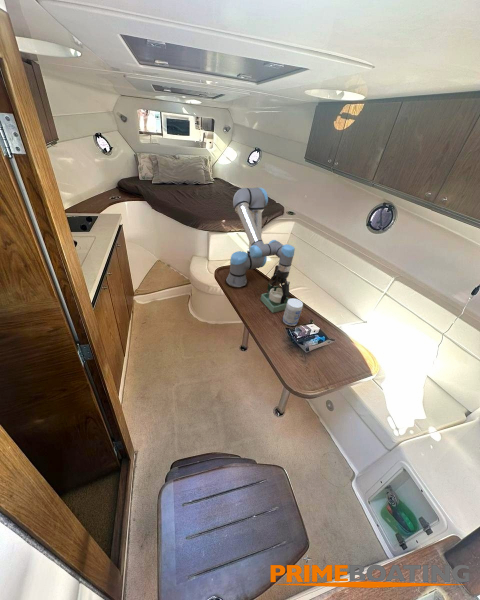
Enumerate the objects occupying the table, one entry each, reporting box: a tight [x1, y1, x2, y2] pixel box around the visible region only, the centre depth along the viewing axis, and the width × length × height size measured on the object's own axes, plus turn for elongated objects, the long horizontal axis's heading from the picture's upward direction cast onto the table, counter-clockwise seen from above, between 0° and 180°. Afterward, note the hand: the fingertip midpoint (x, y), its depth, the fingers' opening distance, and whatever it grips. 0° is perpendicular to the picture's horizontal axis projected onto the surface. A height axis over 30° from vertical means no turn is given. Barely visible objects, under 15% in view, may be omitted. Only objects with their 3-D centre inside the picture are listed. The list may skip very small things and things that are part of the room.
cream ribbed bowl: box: [269, 287, 283, 303], centre depth 166 cm, size 11×11×5 cm
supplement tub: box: [282, 297, 304, 327], centre depth 152 cm, size 10×10×15 cm
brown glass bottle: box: [266, 264, 281, 298], centre depth 169 cm, size 8×8×24 cm
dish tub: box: [259, 292, 290, 314], centre depth 168 cm, size 15×15×5 cm
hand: (276, 298), depth 167 cm, fingers closed on cream ribbed bowl, 11 cm apart
